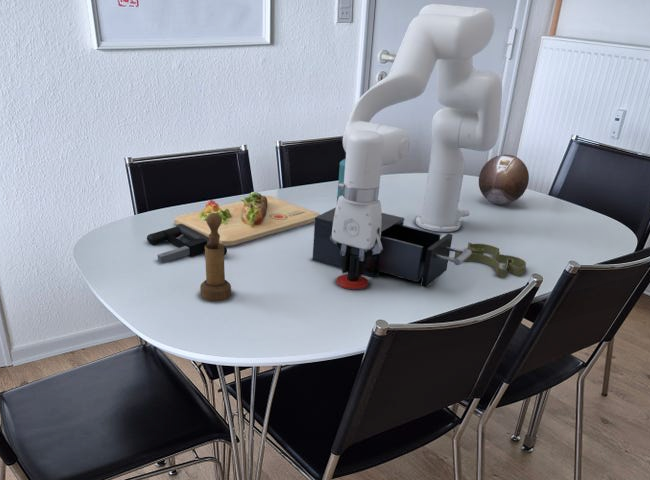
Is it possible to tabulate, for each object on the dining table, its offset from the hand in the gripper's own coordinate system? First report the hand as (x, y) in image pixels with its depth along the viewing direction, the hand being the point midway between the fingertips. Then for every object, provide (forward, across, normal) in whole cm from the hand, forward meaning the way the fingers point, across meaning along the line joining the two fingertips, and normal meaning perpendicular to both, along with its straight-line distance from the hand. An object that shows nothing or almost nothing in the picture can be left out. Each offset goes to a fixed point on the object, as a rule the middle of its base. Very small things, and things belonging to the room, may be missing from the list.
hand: (353, 272), depth 147 cm
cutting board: (+3, -42, +18) cm, 46 cm away
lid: (+3, 0, 0) cm, 3 cm away
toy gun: (+3, -43, -10) cm, 44 cm away
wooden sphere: (+3, +7, +84) cm, 84 cm away
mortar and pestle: (+3, -20, -24) cm, 32 cm away
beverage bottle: (+3, -23, +39) cm, 45 cm away
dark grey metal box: (+3, -6, +13) cm, 14 cm away
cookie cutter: (+3, +22, +33) cm, 39 cm away
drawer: (+2, +10, +13) cm, 17 cm away
